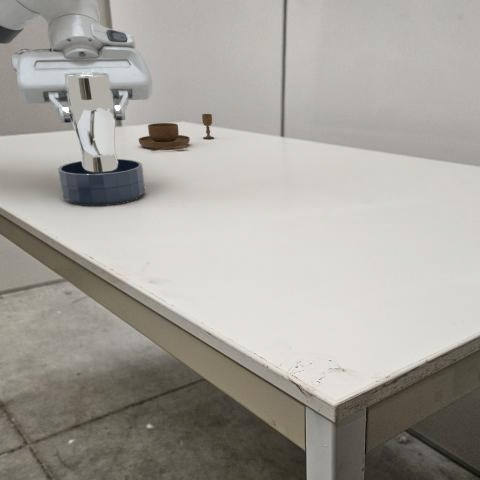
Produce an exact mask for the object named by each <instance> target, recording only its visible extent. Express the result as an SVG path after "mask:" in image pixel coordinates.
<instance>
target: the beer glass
mask: <svg viewBox="0 0 480 480" xmlns="http://www.w3.org/2000/svg"><path fill="white" fill-rule="evenodd" d="M64 77H65V89H66V98H67V102H66V104H67V107H68V109H69V113H70V117H71V123H72V127H73V129H74V132H75V135H76V138H77V141H78V145H79V148H80V154H81V161H82V174H105V173H115V172H120V171H121V169H120V165H119V162H118V159H119V158H118V156H117V153H116V143H115V142H116V140H115V139H116V119H115V105H116V104H115V101H114V97H113V92H112V87H111V82H110V78H109V74H108V73H69V74H64Z"/></svg>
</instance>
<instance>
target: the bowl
mask: <svg viewBox="0 0 480 480" xmlns="http://www.w3.org/2000/svg"><path fill="white" fill-rule="evenodd" d="M117 159H118V162H119V165H120V169H121V171H120V172H115V173H105V174H82V160H79V161H73V162H69V163H65V164H63V165H60V166H59V167H58V168H57V174H58V179H59V185H60V190H61V197H63V199H64V200H66V201H68V202H69V203H71V204H75V205H80V206H90V205H99V206H108V205H107V204H113V205H118V204H117V203H120V204H124V203H123V202H125V203H128V202H127V201H129V202H132V201H131V200H133V201H135V200H134V199H136V198H138V197H139V198H141V197H142V195H144V194H145V192H146V184H145V176H144V175H145V174H144V168H143V163H142V162H140V161H138V160H137V161H136V160H134V159H126V158H125V159H124V158H117ZM140 196H141V197H140ZM139 198H138V199H139ZM136 200H137V199H136Z"/></svg>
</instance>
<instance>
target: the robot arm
mask: <svg viewBox="0 0 480 480" xmlns="http://www.w3.org/2000/svg"><path fill="white" fill-rule="evenodd" d="M38 17H42V18H44V20H45V21H46V23H47V38H48V43H49V48H36V49H29V48H23V49H20V50H19V51H17V52H15V53H13V54H12V55H11V64H12V65H11V66H12V68H13V70H14V71H15V73H16V80H17V81H16V82H17V88H18V92H19V97H20V99H21V100H22V101H24V103H26V104H30V105H32V104H33V105H34V104H49V105H50V108H51V109H52V110H53V111H54V112H55V113H56V114H57V115H58V116H59V119H60V123H61V124H70V123H72V121H71V117H70V113H69V109H68V106H63V105H62V104H61V103H63V104H64V103H67V98H66V89H65V77H64V74H69V73H108V74H109V78H110V82H111V87H112V92H113V97H114V102H117V101H118V103H119V104H115V121H126V109H127V108H128V106H129V101H143V100H145V101H146V100H149V99H150V97H152V94H153V80H152V75H151V73H150V70H149V69H150V68H149V67H148V64H147V62H146V60H145V58H144V55H143V54H142V53H141V52H140V51H139V50H138V49H137V48H136V41H135V37H134V36H133V35H132V33H129V32H126V31H125V32H124V31H120V30H117V29H113V28H109V27H106V26H104V25H102V24H101V22H100V21H101V12H100V7H99V4H98V0H0V44H2V45H3V44H10V43H11V42H13V40H14V39H15V38H16V37H17V36H18V35H19V34H20V33H21V32H22V31H23V30H24V29H25V28H26V27H27V26H28V25H30V24H31V23H32V22H33V21H35V20H36V19H37V18H38Z"/></svg>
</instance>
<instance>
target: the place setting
mask: <svg viewBox="0 0 480 480" xmlns="http://www.w3.org/2000/svg"><path fill="white" fill-rule="evenodd" d="M201 119H202V124H203V126H205V129H206V130H205V133H206V136H203V137H202V139H204V140H214V139H215V137H214V136H211V130H210V126H212V124H213V114H212V113H202V114H201ZM147 130H148V135H146V136H141V137H139V138H138V143H139V144H140V146H142V147H143V148H146V149H150V152H156V151H157V152H158V151H163V150H173V149H174V150H182V149H186V148H188V144H190V142H191V138H190V137H189V136H188V135H182V134H179V124H178V123H173V122H157V123H149V124H148V125H147Z"/></svg>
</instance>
